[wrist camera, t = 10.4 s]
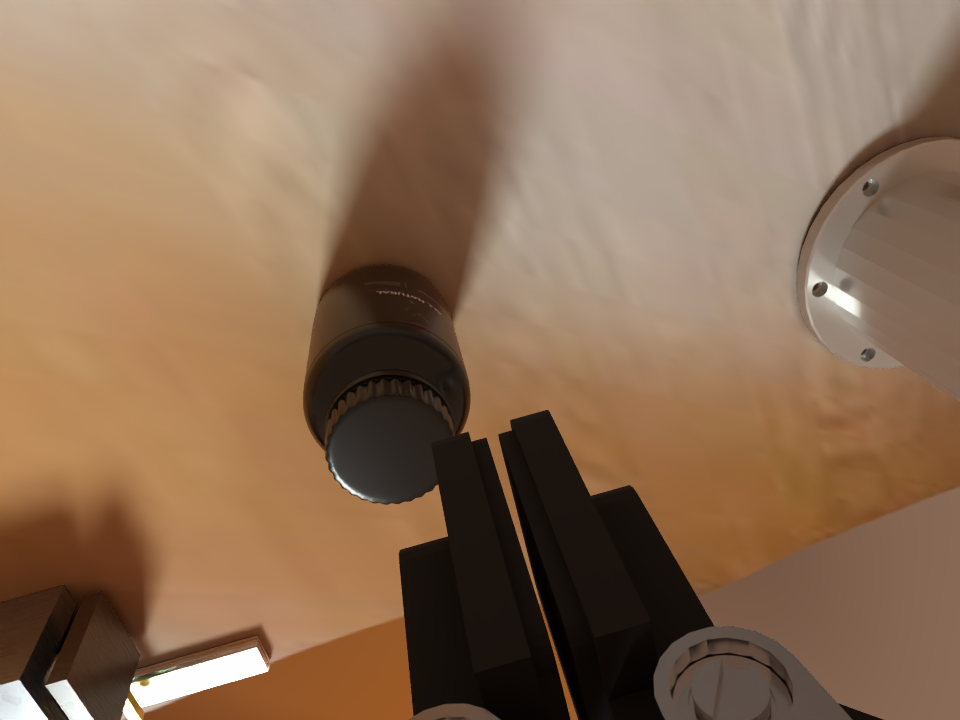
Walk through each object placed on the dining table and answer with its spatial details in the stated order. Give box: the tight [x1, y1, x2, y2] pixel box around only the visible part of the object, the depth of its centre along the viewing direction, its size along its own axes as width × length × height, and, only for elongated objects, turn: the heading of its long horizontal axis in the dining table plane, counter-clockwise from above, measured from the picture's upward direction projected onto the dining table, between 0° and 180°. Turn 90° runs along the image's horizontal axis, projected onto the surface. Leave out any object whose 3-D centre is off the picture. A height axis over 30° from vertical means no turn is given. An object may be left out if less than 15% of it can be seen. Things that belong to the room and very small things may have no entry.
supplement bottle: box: [303, 264, 470, 505], centre depth 33 cm, size 7×7×12 cm
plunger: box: [42, 592, 144, 720], centre depth 41 cm, size 11×8×6 cm
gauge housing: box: [0, 585, 270, 720], centre depth 41 cm, size 20×9×6 cm, turn 103°
